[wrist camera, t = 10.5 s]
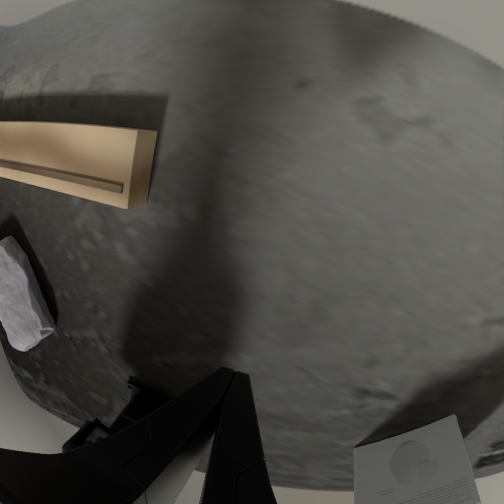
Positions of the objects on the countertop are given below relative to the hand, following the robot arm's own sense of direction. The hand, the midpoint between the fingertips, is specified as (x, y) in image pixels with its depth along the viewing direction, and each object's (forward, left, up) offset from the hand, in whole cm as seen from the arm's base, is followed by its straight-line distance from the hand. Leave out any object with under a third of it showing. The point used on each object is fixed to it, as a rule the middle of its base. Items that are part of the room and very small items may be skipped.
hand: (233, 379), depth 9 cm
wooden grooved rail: (+4, +23, -12) cm, 26 cm away
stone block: (-12, +26, -12) cm, 31 cm away
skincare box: (-16, -18, -12) cm, 27 cm away
